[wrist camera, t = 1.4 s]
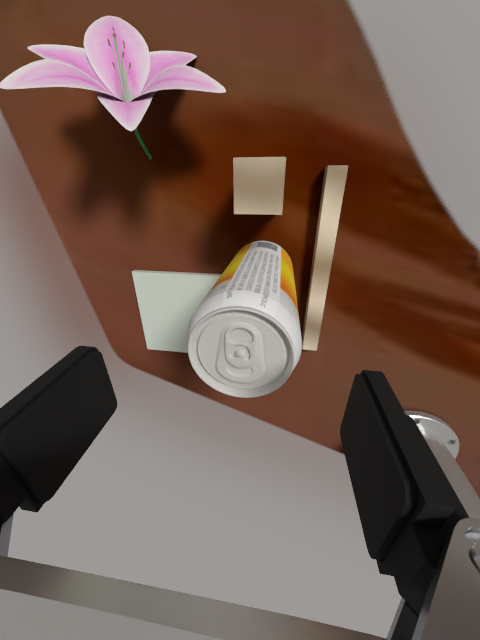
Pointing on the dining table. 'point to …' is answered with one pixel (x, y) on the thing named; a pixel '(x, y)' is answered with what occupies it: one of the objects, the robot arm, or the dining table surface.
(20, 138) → the dining table surface
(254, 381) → the beer can
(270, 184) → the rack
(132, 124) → the lily
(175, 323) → the mat
